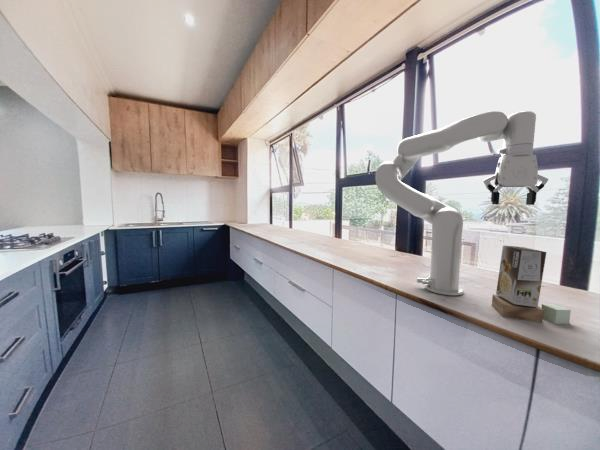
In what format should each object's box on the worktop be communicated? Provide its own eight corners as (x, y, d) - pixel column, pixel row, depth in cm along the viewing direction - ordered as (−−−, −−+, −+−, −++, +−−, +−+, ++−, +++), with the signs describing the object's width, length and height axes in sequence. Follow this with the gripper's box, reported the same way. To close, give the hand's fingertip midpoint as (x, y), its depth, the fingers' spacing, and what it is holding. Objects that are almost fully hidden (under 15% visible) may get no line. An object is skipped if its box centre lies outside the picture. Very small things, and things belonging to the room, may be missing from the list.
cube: (555, 323, 67) (556, 309, 66) (540, 317, 71) (541, 304, 70) (569, 323, 67) (570, 309, 66) (553, 317, 71) (554, 304, 70)
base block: (502, 317, 71) (503, 304, 70) (491, 306, 79) (492, 294, 79) (542, 323, 67) (543, 310, 67) (526, 311, 76) (528, 298, 75)
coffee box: (539, 308, 68) (548, 252, 67) (513, 304, 69) (522, 249, 68) (516, 296, 77) (524, 247, 76) (494, 293, 78) (501, 244, 77)
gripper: (491, 151, 78) (487, 203, 80) (558, 148, 73) (552, 204, 75) (481, 155, 86) (477, 204, 87) (542, 153, 81) (537, 205, 82)
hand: (512, 204), depth 81 cm, fingers open, 9 cm apart
